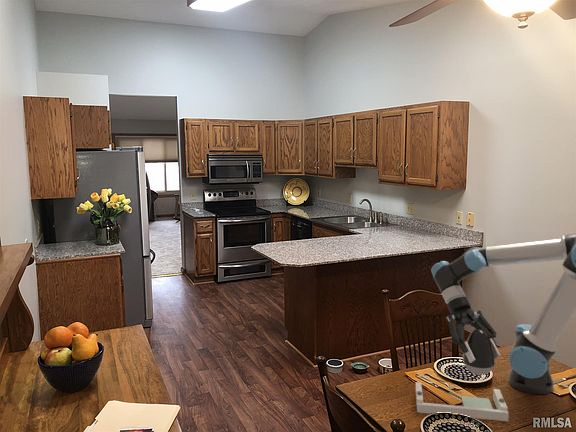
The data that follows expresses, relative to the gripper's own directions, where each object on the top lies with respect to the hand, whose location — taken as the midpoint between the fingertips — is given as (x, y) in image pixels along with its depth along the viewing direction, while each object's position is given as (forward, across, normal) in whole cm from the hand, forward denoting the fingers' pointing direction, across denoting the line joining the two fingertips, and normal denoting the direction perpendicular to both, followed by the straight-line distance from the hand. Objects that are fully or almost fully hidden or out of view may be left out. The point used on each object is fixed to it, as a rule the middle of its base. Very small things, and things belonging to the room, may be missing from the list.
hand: (485, 359), depth 156 cm
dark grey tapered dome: (+2, 0, -6) cm, 7 cm away
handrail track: (+9, +6, -17) cm, 20 cm away
